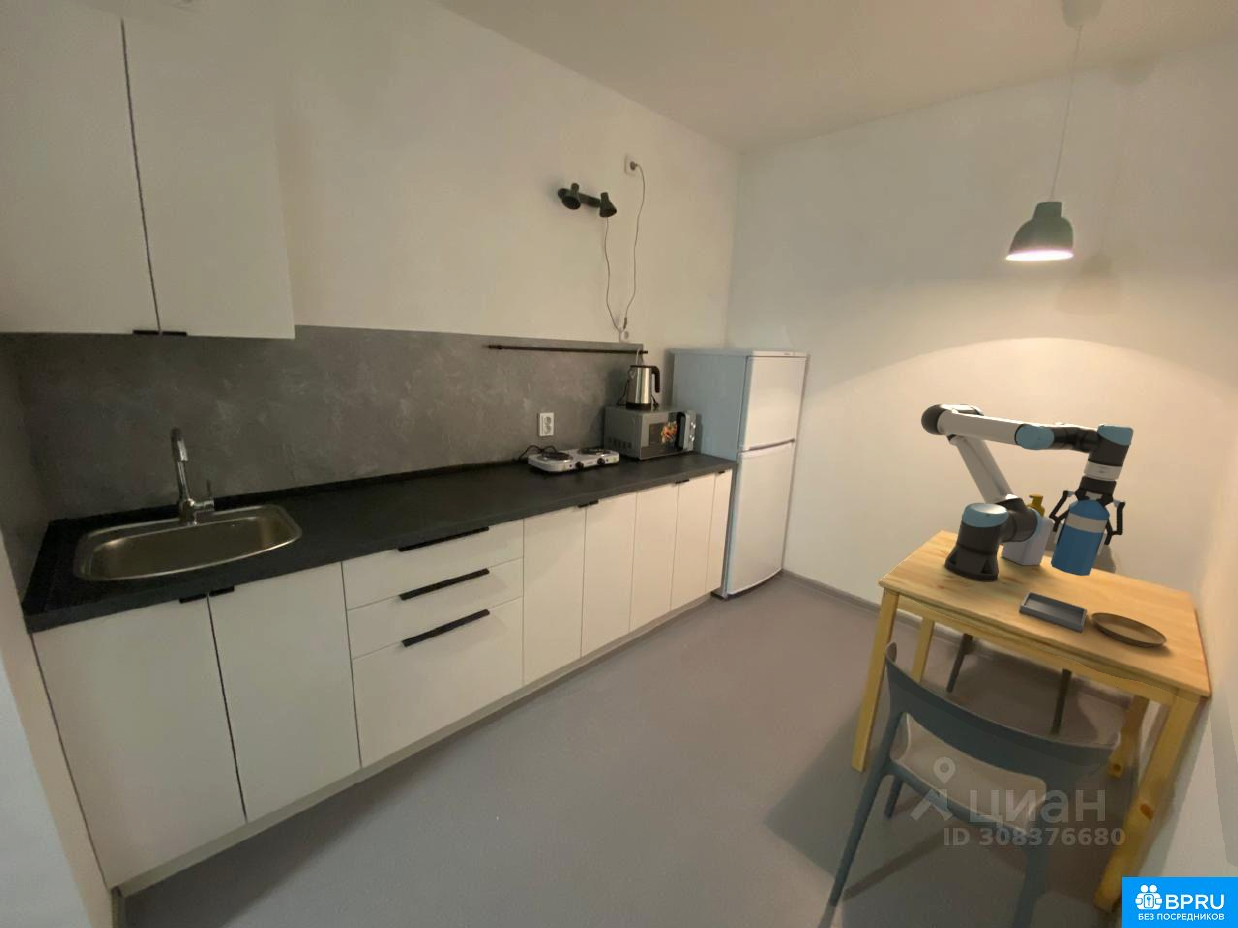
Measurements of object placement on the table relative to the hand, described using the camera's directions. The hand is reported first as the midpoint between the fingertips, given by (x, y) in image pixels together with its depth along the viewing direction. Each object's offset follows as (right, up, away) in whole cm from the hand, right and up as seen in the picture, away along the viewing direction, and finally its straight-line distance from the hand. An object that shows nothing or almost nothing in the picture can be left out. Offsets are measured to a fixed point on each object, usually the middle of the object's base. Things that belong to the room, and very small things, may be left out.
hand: (1076, 547), depth 151 cm
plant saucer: (-1, -22, -15) cm, 26 cm away
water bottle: (0, -7, +2) cm, 7 cm away
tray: (-13, -18, -7) cm, 23 cm away
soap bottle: (+7, -10, +30) cm, 33 cm away
